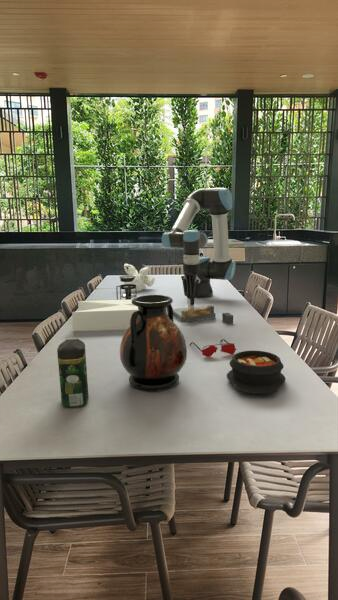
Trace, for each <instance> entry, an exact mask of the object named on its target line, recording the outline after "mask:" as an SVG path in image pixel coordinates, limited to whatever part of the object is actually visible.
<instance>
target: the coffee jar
mask: <svg viewBox="0 0 338 600" xmlns="http://www.w3.org/2000/svg"><path fill="white" fill-rule="evenodd" d="M56 352H57V363H58V376H59V385H60V386H59V388H60V398H61V400H60V401H61V405H62V406H63V407H67V408H71V409H72V408H79V407H82V406H85V405H87V403H88V401H89V385H88V384H89V383H88V371H87V368H88V367H87V356H86V344H85V343H84V342H83V341H82V340H81V339H80V338H72V339H71V338H70V339H69V338H68V339H67V338H66V339H64V341H62V342H61V343H60V344H59V345H58V347H57V350H56Z"/></svg>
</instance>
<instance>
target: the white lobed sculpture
mask: <svg viewBox="0 0 338 600" xmlns="http://www.w3.org/2000/svg"><path fill="white" fill-rule="evenodd" d="M126 265H129V266H131V267H128V275H131V276H136V278H135V279H134V280H133V281H132V282H123V284H135V285H136V289H131V293H137V292H142V291H144V290H145V288H146V287H148V288H149V287H153V285H154V284H155V280H156V279H155V276H151V275H149V272H150V266H148V267H142V268H141V269H140V270H139V272H138V270H137V269H136V267H135V266H133V264H129V263H124V265H123V266H126ZM123 268H124V271H125V273H126V274H127V269H126V267H123ZM126 287H128V286H126ZM131 287H132V286H131Z"/></svg>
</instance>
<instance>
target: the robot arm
mask: <svg viewBox="0 0 338 600" xmlns="http://www.w3.org/2000/svg"><path fill="white" fill-rule="evenodd" d="M182 204H183V206H182V207H183V208H182V209H181V210H180V213H179V214H178V217H177V218H176V220H175V222H174V224H173V226H172V228H171V230H169V231H166V232H163V233H162V236H161V244H162V246H163V247H164V248H170V249H172V248H173V249H176V248H177V249H179V248H180V249H183V265H182V267H183V269H182V270H183V272H184V274H183V275H181V276H180V278H181V281H182V288H183V294H184V297H186V298H187V308H188V310H189V309H194V307H195V301H196V300H195V299H196V298H197V299H198V298H200V299H201V298H203V299H204V298H205V299H206V298H211V297H212V296H214V291H213V287H212V285H211V280H223V281H225V280H229V281H231V280H232V279H233V277H234V274H235V271H236V261H235V260H234V259H233V256H232V255H231V254H230V246H229V244H230V243H229V227H228V215H229V214H230V210H232V209H233V195H232V192H231V190H230V189H229V188H226V187H206V188H205V187H203V188H202V187H201V188H199V189H196V190H194V191H193V192H191V193H190V194H189V195H188V196H187V197H186V198H185V199H184V201H183V203H182ZM203 210H204V211H207V210H208V215H209V216H211V227H212V228H211V229H212V239H213V251H214V252H213V253H214V255H213V256H212V257H210V256H202V257H200V249H202V248H203V247H205V246H207V244H208V241H209V239H208V236H207V234H206V233H205V232H202V231H201V232H200V231H199V230H197V229H189V227H190V225H191V224H192V222H193V220H194V218H195V216H196V214H198V213H199V212H200V211H203Z"/></svg>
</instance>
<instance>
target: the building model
mask: <svg viewBox="0 0 338 600" xmlns="http://www.w3.org/2000/svg"><path fill="white" fill-rule="evenodd" d="M132 299H133V298H131V299H130V300H125V299H121V300H120V299H118V300H117V299H111V300H110V299H105V300H104V299H103V300H78V301H77V305H78V310H76V311H72V312H71V313H72V314H71V315H72V329H73V330H72V331H73V332H87V331H88V332H89V331H90V332H91V331H117V330H118V331H119V330H127V328H128V327H129V326H130V319H131V316H132V314H133V312H135V311H138V307H137V306H135V305H133V304H132V302H131V301H132ZM166 313H167V315H168V312H167V307H166Z"/></svg>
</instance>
